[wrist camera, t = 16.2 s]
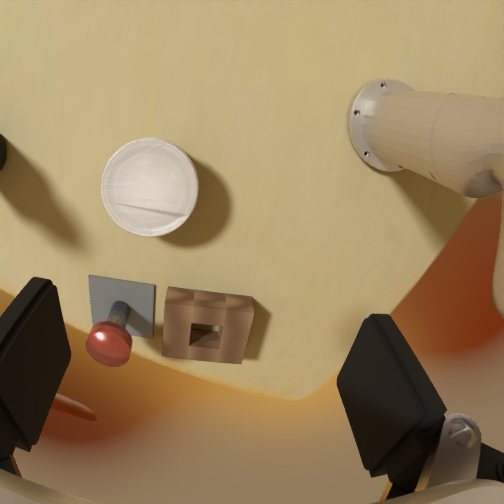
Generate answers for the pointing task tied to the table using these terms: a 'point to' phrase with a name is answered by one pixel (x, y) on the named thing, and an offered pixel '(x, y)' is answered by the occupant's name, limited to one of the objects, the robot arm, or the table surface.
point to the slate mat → (128, 292)
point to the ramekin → (150, 187)
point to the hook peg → (111, 337)
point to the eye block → (210, 313)
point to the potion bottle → (2, 152)
